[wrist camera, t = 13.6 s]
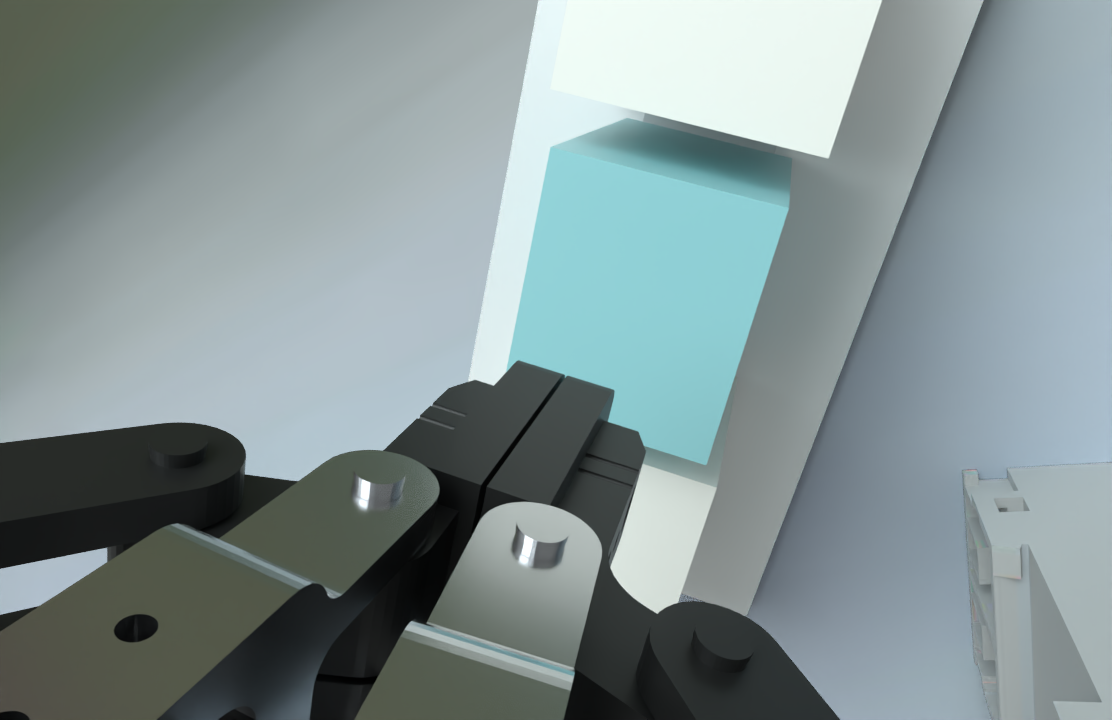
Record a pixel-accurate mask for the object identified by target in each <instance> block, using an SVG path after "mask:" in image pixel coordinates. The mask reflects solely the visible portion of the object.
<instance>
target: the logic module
mask: <svg viewBox="0 0 1112 720" xmlns="http://www.w3.org/2000/svg"><path fill="white" fill-rule="evenodd" d="M791 168H792V158H789V157H785V156H781V155H777V154H772V153H768V152H764V151H760V150H756V149H752V148H748V147H744V146H740V145H736V144H732V143H728V142H724V141H720V140H716V139H711V138H707V137H703V136H699V135H695V134H691V133H687V132H683V131H679V130H675V129H671V128H667V127H663V126H659V125H655V124H650V123H646V122H642V121H638V120H634V119H630V118H626V119H623V120H620V121H618V122H615V123H612V124H610V125H607V126H604V127H602V128H599V129H597V130H594V131H591V132H589V133H586V134H583V135H581V136H578V137H576V138H573V139H570V140H568V141H565V142H562V143H560V144H557V145H554V146H552V147H550V152H549V157H548V162H547V167H546V172H545V177H544V182H543V187H542V192H541V197H540V203H539V208H538V213H537V218H536V223H535V228H534V233H533V238H532V243H531V248H530V253H529V258H528V263H527V268H526V273H525V278H524V283H523V288H522V293H521V298H520V304H519V309H518V314H517V319H516V324H515V329H514V334H513V339H512V344H511V349H510V354H509V359H508V364H507V369H506V372H507V371H508V370H509V369H510V368H511V366H512V365H513V364H514V363H515V362H516V361H518V360H520V361H523V362H526V363H529V364H532V365H536V366H539V367H542V368H545V369H548V370H552V371H555V372H558V373H561V374H564V375H565V378H566V376H571V377H575V378H578V379H581V380H584V381H587V382H591V383H594V384H597V385H600V386H604V387H607V388H610V389H613V390H614V391H615V392H614V399H613V403H612V407H611V411H610V415H609V419H608V422H610V423H613V424H616V425H620V426H623V427H626V428H629V429H632V430H635V431H638V432H639V435H640V437H641V440H642V442H643V445H644V446H646V447H649V448H653V449H656V450H659V451H662V452H665V453H668V454H672V455H675V456H678V457H681V458H684V459H687V460H691V461H694V462H697V463H700V464H703V465H707V462H708V458H709V455H710V452H711V449H712V446H713V443H714V440H715V437H716V434H717V430H718V427H719V424H720V421H721V418H722V415H723V412H724V409H725V406H726V402H727V399H728V396H729V393H730V390H731V387H732V384H733V381H734V378H735V374H736V371H737V368H738V365H739V362H740V359H741V356H742V353H743V350H744V346H745V343H746V340H747V337H748V334H749V331H750V328H751V325H752V322H753V318H754V315H755V312H756V309H757V306H758V303H759V300H760V297H761V294H762V290H763V287H764V284H765V281H766V278H767V275H768V272H769V269H770V266H771V262H772V259H773V256H774V253H775V250H776V247H777V244H778V241H779V238H780V234H781V231H782V228H783V225H784V222H785V219H786V216H787V213H788V210H789V200H790V184H791Z"/></svg>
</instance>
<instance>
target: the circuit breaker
mask: <svg viewBox="0 0 1112 720" xmlns="http://www.w3.org/2000/svg"><path fill="white" fill-rule="evenodd" d="M962 474H963V490H964V506H965V523H966V539H967V556H968V572H969V588H970V605H971V621H972V638H973V654H974V661H975V664H976V665H978V667H979V670H980V674H981V677H982V688H983V692H984V695H985V698H986V702H987V705H988V709H989V712H990V716H991V719H992V720H1112V462H1107V463H1088V464H1070V465H1051V466H1033V467H1014V468H1007V477H1008V478H1005V479H985V480H979V478H978V472H977V470H962ZM998 509H1000V510H998Z"/></svg>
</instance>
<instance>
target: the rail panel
mask: <svg viewBox="0 0 1112 720" xmlns="http://www.w3.org/2000/svg"><path fill="white" fill-rule="evenodd" d="M983 1H984V0H539V1H538V6H537V12H536V17H535V23H534V28H533V34H532V39H531V44H530V50H529V55H528V61H527V66H526V71H525V77H524V82H523V88H522V93H521V98H520V104H519V109H518V115H517V120H516V125H515V131H514V136H513V142H512V147H511V153H510V158H509V163H508V169H507V174H506V180H505V185H504V190H503V196H502V201H501V207H500V212H499V217H498V223H497V228H496V234H495V239H494V244H493V250H492V255H491V261H490V266H489V272H488V277H487V282H486V288H485V293H484V299H483V304H482V309H481V315H480V320H479V326H478V331H477V336H476V342H475V347H474V353H473V358H472V363H471V369H470V374H469V380H468V382H469V381H473V380H478V381H481V382H484V383H487V384H490V385H493V386H494V385H495V384H496V383H497V382H498V381H499V380H500V378H501V377H502V376H503V375H504V374H505V373H506V369H507V364H508V359H509V354H510V349H511V344H512V339H513V334H514V329H515V324H516V319H517V314H518V309H519V304H520V298H521V293H522V288H523V283H524V278H525V273H526V268H527V263H528V258H529V253H530V248H531V243H532V238H533V233H534V228H535V223H536V218H537V213H538V208H539V203H540V197H541V192H542V187H543V182H544V177H545V172H546V167H547V162H548V157H549V152H550V147H552V146H554V145H557V144H560V143H562V142H565V141H568V140H570V139H573V138H576V137H578V136H581V135H583V134H586V133H589V132H591V131H594V130H597V129H599V128H602V127H604V126H607V125H610V124H612V123H615V122H618V121H620V120H623V119H626V118H630V119H634V120H638V121H642V122H646V123H650V124H655V125H659V126H663V127H667V128H671V129H675V130H679V131H683V132H687V133H691V134H695V135H699V136H703V137H707V138H711V139H716V140H720V141H724V142H728V143H732V144H736V145H740V146H744V147H748V148H752V149H756V150H760V151H764V152H768V153H772V154H777V155H781V156H785V157H789V158H792V168H791V184H790V200H789V210H788V213H787V216H786V219H785V222H784V225H783V228H782V231H781V234H780V238H779V241H778V244H777V247H776V250H775V253H774V256H773V259H772V262H771V266H770V269H769V272H768V275H767V278H766V281H765V284H764V287H763V290H762V294H761V297H760V300H759V303H758V306H757V309H756V312H755V315H754V318H753V322H752V325H751V328H750V331H749V334H748V337H747V340H746V343H745V346H744V350H743V353H742V356H741V359H740V362H739V365H738V368H737V371H736V374H735V378H734V381H733V384H732V387H731V390H730V393H729V396H728V399H727V402H726V406H725V409H724V412H723V415H722V418H721V421H720V424H719V427H718V430H717V434H716V437H715V440H714V443H713V446H712V449H711V452H710V455H709V458H708V462H707V465H703V464H700V463H697V462H694V461H691V460H687V459H684V458H681V457H678V456H675V455H672V454H668V453H665V452H662V451H659V450H656V449H653V448H649V447H646V446H644V447H645V450H646V454H645V458H644V461H643V465H642V468H641V471H640V475H639V478H638V482H637V485H636V489H635V492H634V495H633V499H632V502H631V506H630V509H629V512H628V516H627V519H626V523H625V526H624V530H623V533H622V536H621V539H620V542H619V545H618V548H617V550H616V553H615V556H614V559H613V561H612V564H611V567H610V568H611V570H612V572H613V575H614V577H615V578H616V579H617V581H618V582H619V584H620V585H621V586H622V587H623V588H624V589H625V590H626V592H627V593H629V594H630V595H631V596H632V597H633V598H634V599H636V600H637V601H638V602H640V603H641V604H643V605H644V606H646V607H647V608H649V609H650V610H652V611H654V612H655V613H657V614H658V613H659V612H660V611H661V610H663V609H664V608H666V607H668V606H670V605H673V604H676V603H678V601H679V598H680V595H681V594H684V595H687V596H690V597H693V598H695V599H698V600H701V601H704V602H707V603H711V604H716V605H719V606H722V607H725V608H728V609H731V610H733V611H735V612H738V613H740V614H742V615H744V616H747V614H748V612H749V609H750V606H751V604H752V601H753V599H754V596H755V593H756V591H757V588H758V586H759V583H760V580H761V578H762V575H763V573H764V570H765V567H766V565H767V562H768V560H769V557H770V554H771V552H772V549H773V547H774V544H775V541H776V539H777V536H778V534H779V531H780V528H781V526H782V523H783V521H784V518H785V515H786V513H787V510H788V508H789V505H790V502H791V500H792V497H793V495H794V492H795V489H796V487H797V484H798V482H799V479H800V476H801V474H802V471H803V469H804V466H805V463H806V461H807V458H808V456H809V453H810V450H811V448H812V445H813V443H814V440H815V437H816V435H817V432H818V430H819V427H820V424H821V422H822V419H823V417H824V414H825V411H826V409H827V406H828V404H829V401H830V398H831V396H832V393H833V391H834V388H835V385H836V383H837V380H838V378H839V375H840V372H841V370H842V367H843V365H844V362H845V359H846V357H847V354H848V352H849V349H850V346H851V344H852V341H853V339H854V336H855V333H856V331H857V328H858V326H859V323H860V320H861V318H862V315H863V313H864V310H865V307H866V305H867V302H868V300H869V297H870V294H871V292H872V289H873V287H874V284H875V281H876V279H877V276H878V274H879V271H880V268H881V266H882V263H883V261H884V258H885V255H886V253H887V250H888V248H889V245H890V242H891V240H892V237H893V235H894V232H895V229H896V227H897V224H898V222H899V219H900V216H901V214H902V211H903V209H904V206H905V203H906V201H907V198H908V196H909V193H910V190H911V188H912V185H913V183H914V180H915V177H916V175H917V172H918V170H919V167H920V164H921V162H922V159H923V157H924V154H925V151H926V149H927V146H928V144H929V141H930V138H931V136H932V133H933V131H934V128H935V125H936V123H937V120H938V118H939V115H940V112H941V110H942V107H943V105H944V102H945V99H946V97H947V94H948V92H949V89H950V86H951V84H952V81H953V79H954V76H955V73H956V71H957V68H958V66H959V63H960V60H961V58H962V55H963V53H964V50H965V47H966V45H967V42H968V40H969V37H970V35H971V32H972V29H973V27H974V24H975V22H976V19H977V16H978V14H979V11H980V9H981V6H982V3H983Z"/></svg>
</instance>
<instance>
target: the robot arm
mask: <svg viewBox="0 0 1112 720" xmlns="http://www.w3.org/2000/svg"><path fill="white" fill-rule="evenodd" d="M614 392H615V391H614V390H613V389H610V388H607V387H604V386H600V385H597V384H594V383H591V382H587V381H584V380H581V379H578V378H575V377H571V376H566V378H565V375H564V374H561V373H558V372H555V371H552V370H548V369H545V368H542V367H539V366H536V365H532V364H529V363H526V362H523V361H520V360H518V361H516V362H515V363H514V364H513V365H512V366H511V368H510V369H509V370H508V371H507V372H506V373H505V374H504V375H503V376H502V377H501V378H500V380H499V381H498V382H497V383H496V384H495V385H494V386H493V385H490V384H487V383H484V382H481V381H478V380H473V381H469V382H466V383H463V384H460V385H457V386H454V387H451V388H449V389H447V390H446V391H445V392H444V393H443V394H442V395H441V396H440V397H439V398H438V399H437V400H436V401H435V402H434V403H433V406H430V407H429V408H428V409H426V410H425V411H424V412H423V413H422V414H421V415H420V418H419V419H416V420H415V421H414V422H413V423H412V424H411V425H410V426H409V427H408V428H407V429H406V430H404V431H403V432H402V433H401V434H400V435H399V436H398V437H397V438H396V439H395V440H394V441H393V442H392V443H391V444H390V445H389V446H388V447H387V448H386V449H385V450H383V451H380V450H360V451H353V452H348V453H344V454H340V455H338V456H335V457H333V458H331V459H329V460H328V461H326V462H325V463H323V464H322V465H320V466H319V467H318V468H316V469H315V470H313V471H312V472H311V473H309V474H308V475H307V476H305V477H304V478H302V479H301V480H300V481H289V480H282V479H274V478H267V477H259V476H252V475H245V460H246V453H245V449H244V447H243V445H242V444H241V442H240V441H239V440H238V439H237V438H235V437H234V436H233V435H231V434H229V433H227V432H226V431H223V430H221V429H218V428H215V427H211V426H207V425H202V424H195V423H163V424H155V425H146V426H138V427H130V428H122V429H113V430H105V431H97V432H89V433H80V434H72V435H64V436H56V437H47V438H39V439H31V440H23V441H14V442H6V443H0V569H1V568H6V567H11V566H16V565H21V564H26V563H31V562H36V561H41V560H46V559H51V558H56V557H61V556H66V555H71V554H76V553H82V552H87V551H92V550H97V549H102V548H107V563H106V564H104V565H102V566H101V567H99V568H98V569H96V570H95V571H93V572H92V573H90V574H89V575H87V576H85V577H84V578H82V579H81V580H79V581H78V582H76V583H75V584H73V585H72V586H70V587H68V588H67V589H65V590H64V591H62V592H61V593H59V594H58V595H56V596H54V597H53V598H51V599H50V600H48V601H47V602H45V603H44V604H42V605H41V606H38V607H33V608H29V609H25V610H20V611H16V612H11V613H7V614H3V615H0V720H840V719H839V718H838V717H837V715H836V714H835V713H834V712H833V710H832V709H831V708H830V707H829V706H828V704H827V703H826V702H825V701H824V699H823V698H822V697H821V696H820V695H819V693H818V692H817V691H816V690H815V688H814V687H813V686H812V685H811V684H810V682H809V681H808V680H807V679H806V677H805V676H804V675H803V674H802V673H801V671H800V670H799V669H798V668H797V666H796V665H795V664H794V663H793V662H792V660H791V659H790V658H789V657H788V655H787V654H786V653H785V652H784V651H783V649H782V648H781V647H780V646H779V644H778V643H777V642H776V641H775V640H774V639H773V638H772V637H771V636H770V634H769V633H767V632H766V631H765V630H764V629H763V628H762V627H760V626H759V625H758V624H756V623H755V622H753V621H752V620H750V619H749V618H747V617H745V616H743V615H742V614H740V613H738V612H735V611H733V610H731V609H728V608H725V607H722V606H719V605H716V604H711V603H706V602H695V601H692V602H681V603H676V604H673V605H670V606H668V607H666V608H664V609H663V610H661V611H660V612H659V613H658V614H657V613H655V612H654V611H652V610H650V609H649V608H647V607H646V606H644V605H643V604H641V603H640V602H638V601H637V600H636V599H634V598H633V597H632V596H631V595H630V594H629V593H627V592H626V590H625V589H624V588H623V587H622V586H621V585H620V584H619V582H618V581H617V579H616V578H615V577H614V575H613V572H612V570H611V568H610V567H611V564H612V561H613V559H614V556H615V553H616V550H617V548H618V545H619V542H620V539H621V536H622V533H623V530H624V526H625V523H626V519H627V516H628V512H629V509H630V506H631V502H632V499H633V495H634V492H635V489H636V485H637V482H638V478H639V475H640V471H641V468H642V465H643V461H644V458H645V454H646V450H645V447H644V445H643V442H642V440H641V437H640V435H639V432H638V431H635V430H632V429H629V428H626V427H623V426H620V425H616V424H613V423H610V422H608V419H609V415H610V411H611V407H612V403H613V399H614Z"/></svg>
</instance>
